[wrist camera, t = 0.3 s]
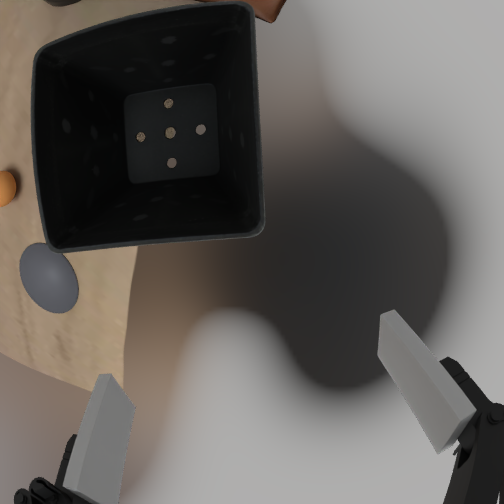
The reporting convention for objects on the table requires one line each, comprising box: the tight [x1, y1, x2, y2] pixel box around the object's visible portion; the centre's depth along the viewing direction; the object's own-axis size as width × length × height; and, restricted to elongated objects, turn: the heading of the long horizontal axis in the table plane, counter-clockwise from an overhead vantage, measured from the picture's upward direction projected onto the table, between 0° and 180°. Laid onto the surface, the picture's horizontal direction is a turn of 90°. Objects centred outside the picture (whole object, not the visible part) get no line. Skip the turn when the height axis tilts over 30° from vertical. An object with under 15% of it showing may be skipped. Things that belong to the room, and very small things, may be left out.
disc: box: [20, 243, 79, 313], centre depth 38 cm, size 13×13×1 cm
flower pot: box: [31, 1, 265, 254], centre depth 25 cm, size 19×19×17 cm
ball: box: [0, 171, 16, 207], centre depth 29 cm, size 6×6×6 cm
